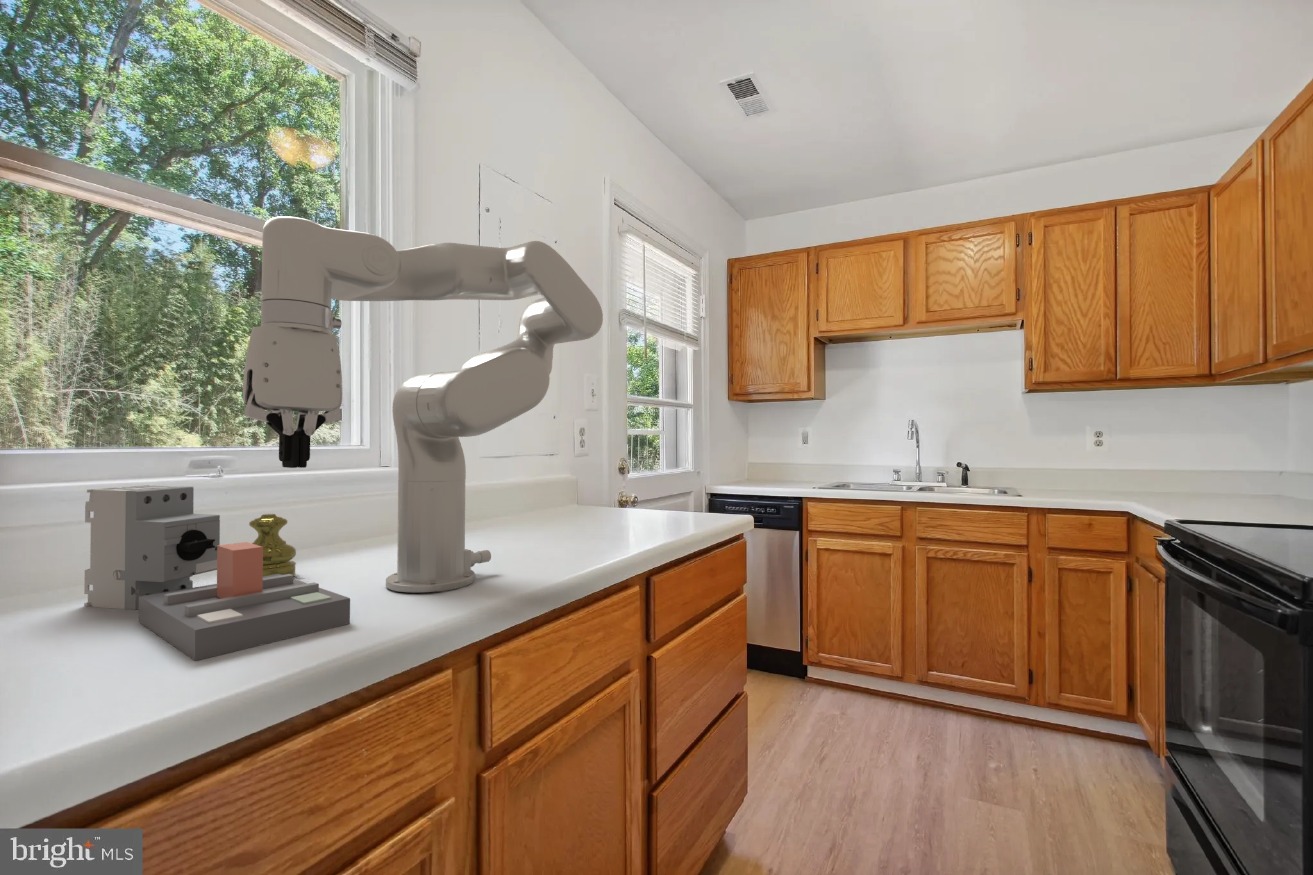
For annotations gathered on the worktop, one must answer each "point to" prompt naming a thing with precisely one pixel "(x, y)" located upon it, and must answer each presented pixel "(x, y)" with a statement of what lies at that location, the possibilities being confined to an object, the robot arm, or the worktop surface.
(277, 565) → the brass knob
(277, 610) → the breaker panel
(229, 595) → the handle
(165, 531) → the circuit breaker
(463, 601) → the worktop surface
